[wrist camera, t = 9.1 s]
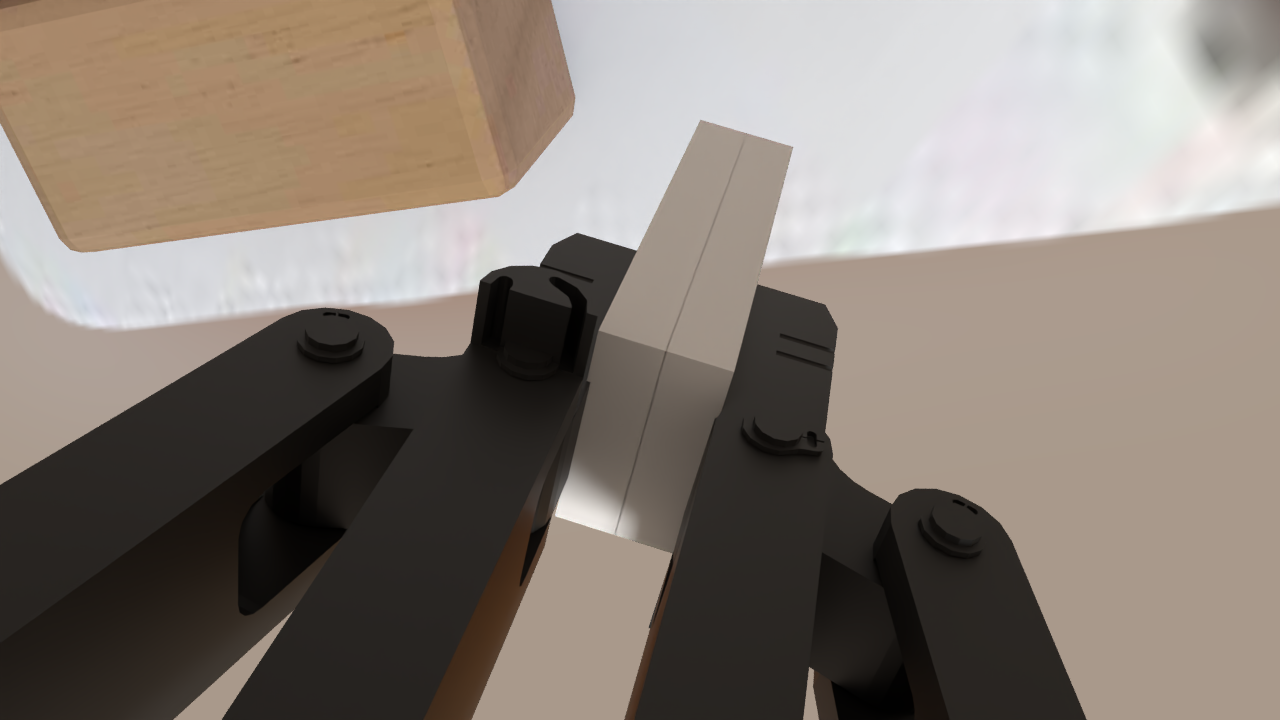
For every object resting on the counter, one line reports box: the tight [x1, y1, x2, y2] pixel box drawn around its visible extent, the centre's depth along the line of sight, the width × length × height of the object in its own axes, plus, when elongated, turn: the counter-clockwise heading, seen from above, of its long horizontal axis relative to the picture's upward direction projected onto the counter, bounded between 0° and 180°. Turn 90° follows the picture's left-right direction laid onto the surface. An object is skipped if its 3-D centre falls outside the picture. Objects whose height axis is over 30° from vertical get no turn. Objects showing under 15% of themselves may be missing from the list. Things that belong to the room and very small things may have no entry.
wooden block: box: [0, 0, 575, 252], centre depth 43 cm, size 10×10×20 cm
